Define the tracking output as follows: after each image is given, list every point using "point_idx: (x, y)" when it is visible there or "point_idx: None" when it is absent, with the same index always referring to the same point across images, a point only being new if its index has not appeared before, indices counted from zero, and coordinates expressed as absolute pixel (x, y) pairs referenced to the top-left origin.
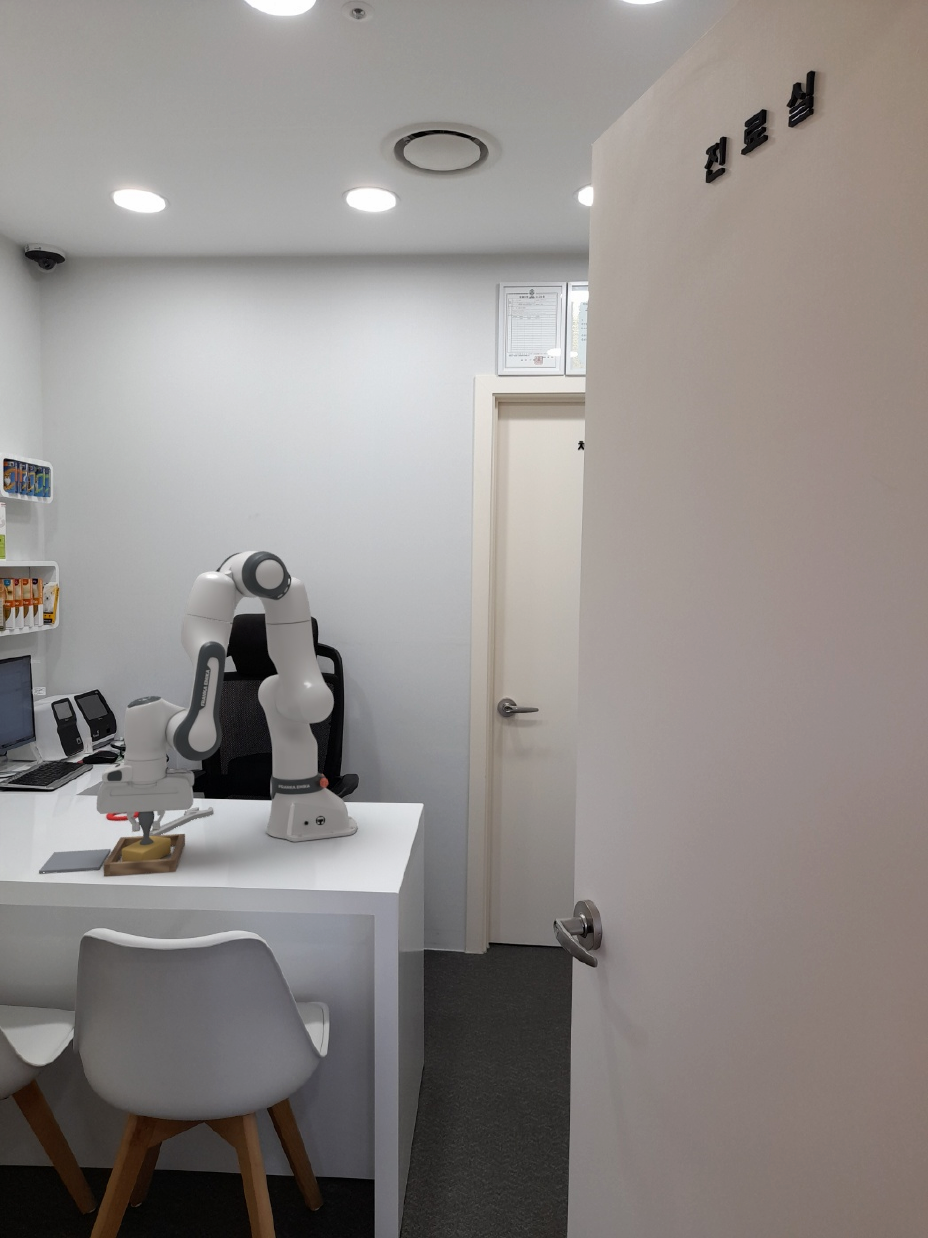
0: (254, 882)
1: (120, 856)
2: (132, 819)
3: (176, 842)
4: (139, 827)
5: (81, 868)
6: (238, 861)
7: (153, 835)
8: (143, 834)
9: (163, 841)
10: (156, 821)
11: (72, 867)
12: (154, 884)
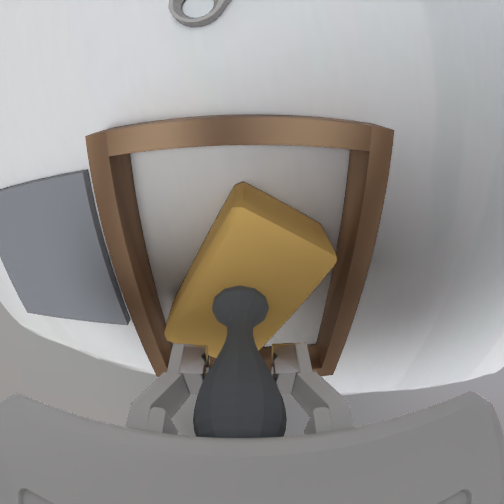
0: (429, 376)
1: (141, 237)
2: (173, 412)
3: (355, 245)
4: (205, 364)
5: (91, 320)
6: (456, 304)
7: (220, 8)
8: (226, 337)
9: (308, 295)
10: (293, 379)
11: (69, 311)
12: None
